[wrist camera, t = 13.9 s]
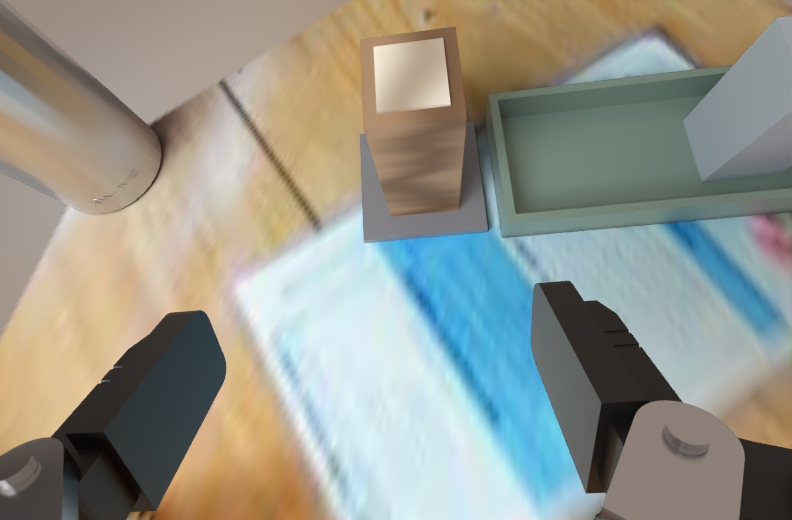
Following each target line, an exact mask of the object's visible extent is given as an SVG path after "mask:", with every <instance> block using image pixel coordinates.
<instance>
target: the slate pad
mask: <svg viewBox="0 0 792 520" xmlns="http://www.w3.org/2000/svg"><path fill="white" fill-rule="evenodd" d="M360 149H361V177H362V204H363V231H364V242H365V243H371V242H382V241H393V240H404V239H415V238H426V237H437V236H448V235H459V234H469V233H480V232H487V231H488V225H487V218H486V210H485V202H484V195H483V187H482V180H481V172H480V165H479V157H478V150H477V142H476V135H475V127H474V121H473V122H466V131H465V142H464V153H463V165H462V176H461V187H460V199H459V210H456V211H445V212H434V213H424V214H413V215H403V216H392V217H391V216H390V213H389V210H388V207H387V203H386V200H385V197H384V194H383V190H382V187H381V184H380V181H379V177H378V174H377V171H376V168H375V164H374V161H373V158H372V155H371V151H370V148H369V145H368V142H367V138H366V135H365V134H360Z"/></svg>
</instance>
